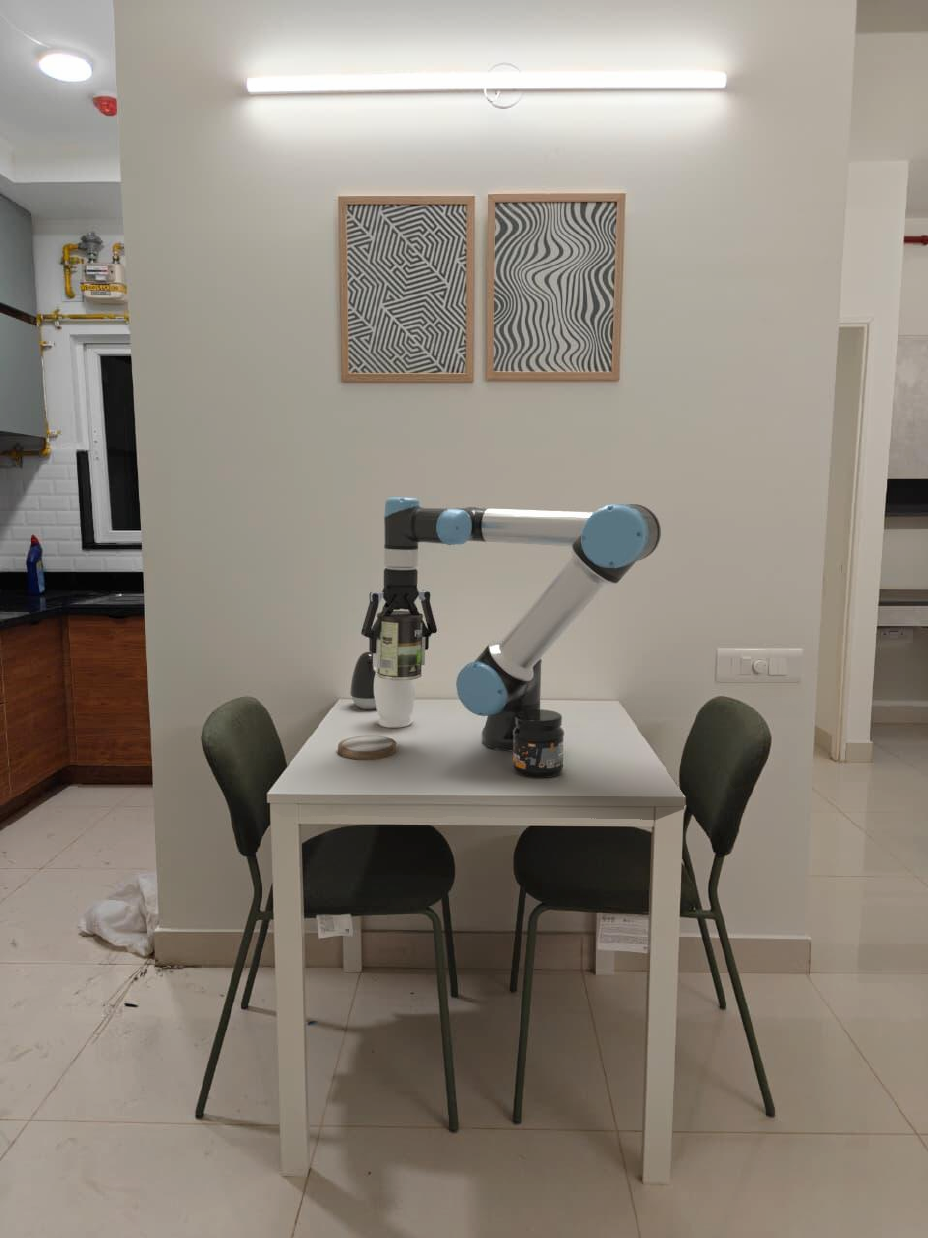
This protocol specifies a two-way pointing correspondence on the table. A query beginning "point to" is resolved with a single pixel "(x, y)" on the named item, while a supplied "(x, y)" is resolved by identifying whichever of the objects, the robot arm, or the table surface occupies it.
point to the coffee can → (400, 646)
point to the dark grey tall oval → (363, 682)
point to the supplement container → (538, 743)
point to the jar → (394, 701)
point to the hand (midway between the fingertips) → (399, 665)
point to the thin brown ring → (367, 747)
